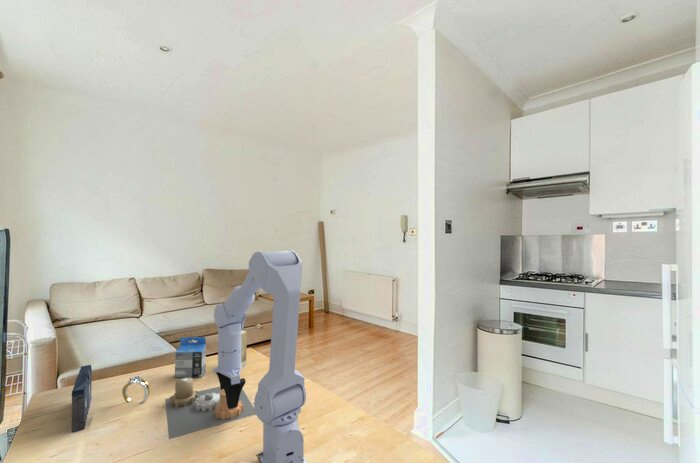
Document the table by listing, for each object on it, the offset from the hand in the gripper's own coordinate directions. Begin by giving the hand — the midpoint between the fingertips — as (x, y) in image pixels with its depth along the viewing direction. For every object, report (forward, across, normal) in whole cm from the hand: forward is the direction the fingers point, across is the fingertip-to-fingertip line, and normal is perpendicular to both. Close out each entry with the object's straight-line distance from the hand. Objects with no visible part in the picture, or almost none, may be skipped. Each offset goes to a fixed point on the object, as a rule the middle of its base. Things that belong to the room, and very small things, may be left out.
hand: (229, 401), depth 86 cm
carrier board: (+4, -7, -4) cm, 9 cm away
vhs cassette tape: (+4, -21, -33) cm, 39 cm away
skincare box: (+4, -32, +9) cm, 33 cm away
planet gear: (+3, 0, 0) cm, 3 cm away
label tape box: (+4, -33, -6) cm, 34 cm away
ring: (+4, -19, -21) cm, 28 cm away
